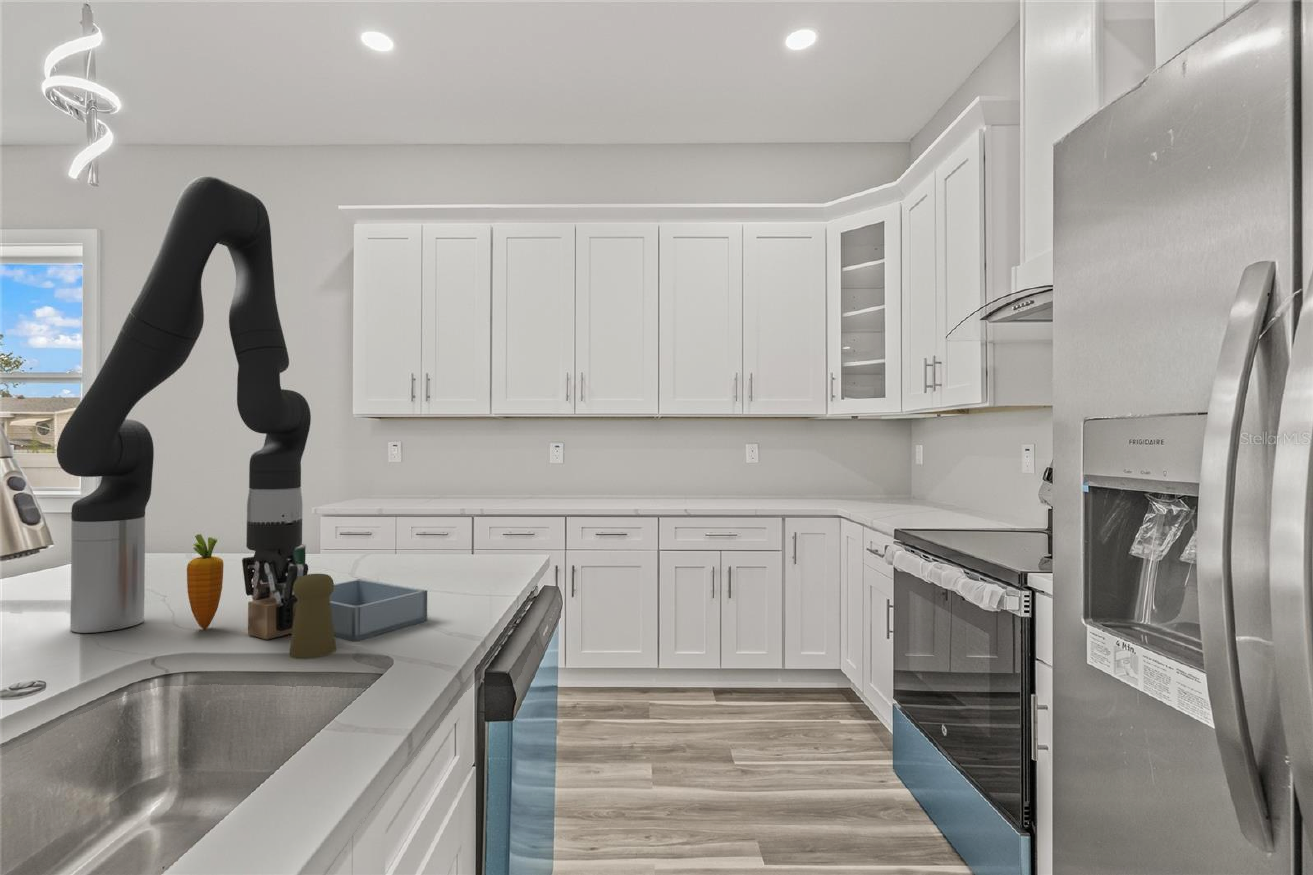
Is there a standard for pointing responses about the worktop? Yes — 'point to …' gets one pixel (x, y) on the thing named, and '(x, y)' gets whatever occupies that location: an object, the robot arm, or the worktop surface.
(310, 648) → the cork
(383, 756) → the worktop surface
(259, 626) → the walnut cube
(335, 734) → the worktop surface
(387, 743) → the worktop surface
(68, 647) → the worktop surface
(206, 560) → the carrot
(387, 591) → the tote
